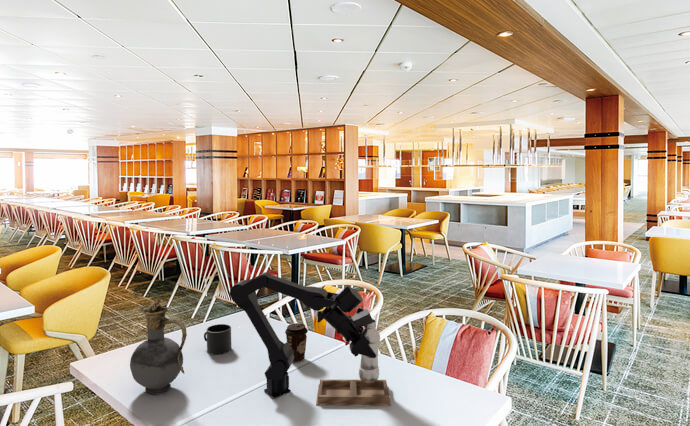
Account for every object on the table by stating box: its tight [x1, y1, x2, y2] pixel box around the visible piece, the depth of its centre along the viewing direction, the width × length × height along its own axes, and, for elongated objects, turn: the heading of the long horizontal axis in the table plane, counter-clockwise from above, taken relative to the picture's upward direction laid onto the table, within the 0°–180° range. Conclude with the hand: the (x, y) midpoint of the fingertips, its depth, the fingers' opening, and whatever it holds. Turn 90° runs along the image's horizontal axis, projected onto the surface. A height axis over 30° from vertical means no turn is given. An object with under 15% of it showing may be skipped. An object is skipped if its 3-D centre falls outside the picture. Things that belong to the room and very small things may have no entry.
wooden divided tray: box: [315, 379, 392, 407], centre depth 137 cm, size 23×12×2 cm, turn 90°
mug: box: [203, 323, 232, 355], centre depth 172 cm, size 9×12×9 cm
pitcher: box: [129, 299, 188, 395], centre depth 139 cm, size 11×19×30 cm, turn 75°
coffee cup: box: [284, 323, 309, 363], centre depth 163 cm, size 9×8×13 cm
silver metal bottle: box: [358, 318, 381, 383], centre depth 137 cm, size 6×7×20 cm
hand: (373, 352), depth 137 cm, fingers closed on silver metal bottle, 6 cm apart
